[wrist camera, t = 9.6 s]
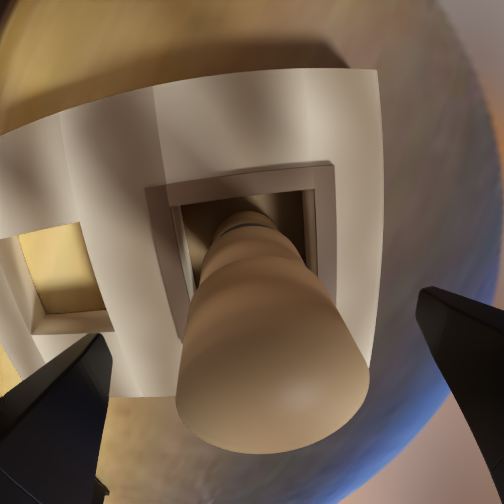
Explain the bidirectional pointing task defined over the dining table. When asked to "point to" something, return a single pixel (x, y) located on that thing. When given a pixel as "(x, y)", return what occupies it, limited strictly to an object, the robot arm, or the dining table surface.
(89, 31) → the dining table surface
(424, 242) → the dining table surface
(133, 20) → the dining table surface
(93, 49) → the dining table surface
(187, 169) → the board
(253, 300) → the peg
